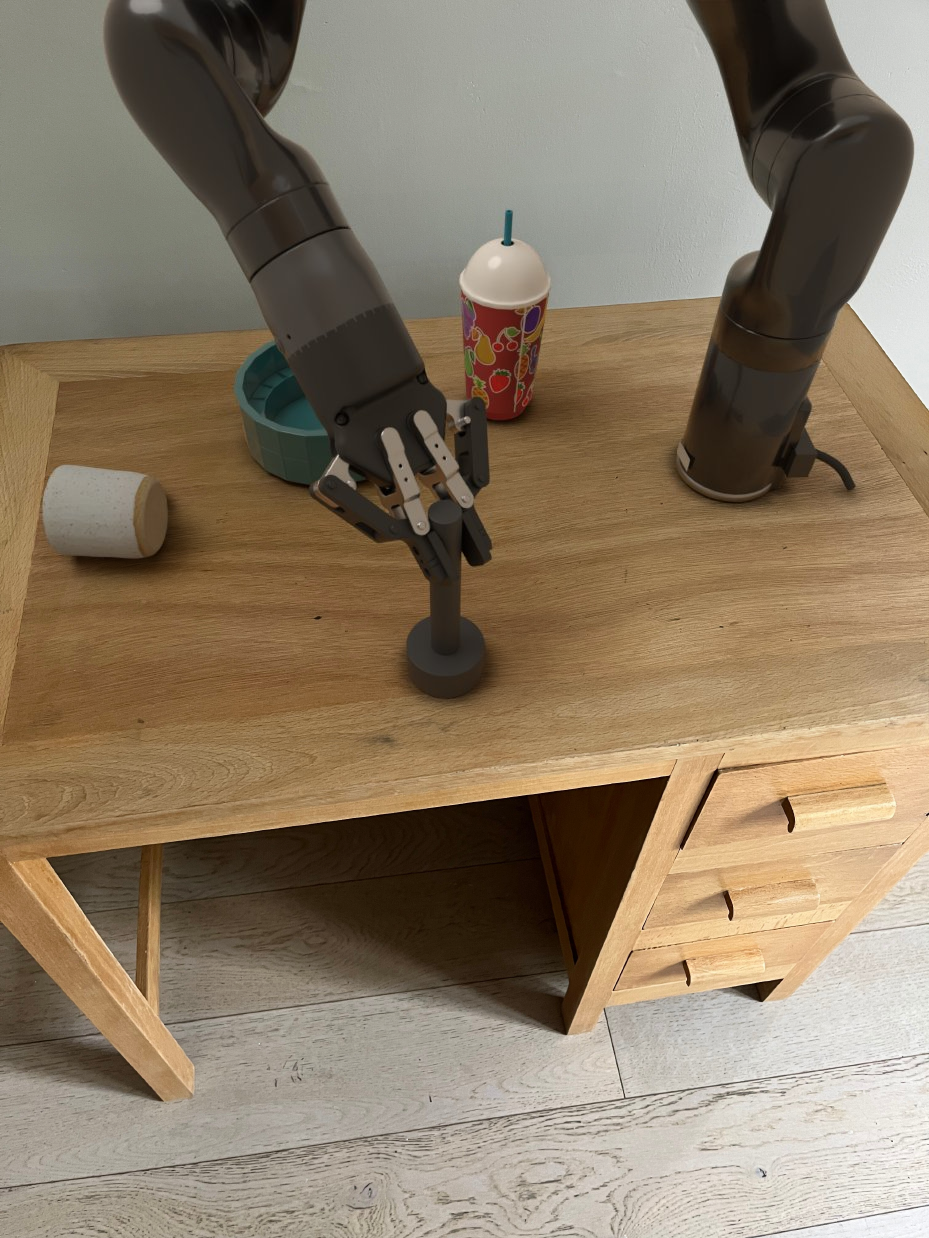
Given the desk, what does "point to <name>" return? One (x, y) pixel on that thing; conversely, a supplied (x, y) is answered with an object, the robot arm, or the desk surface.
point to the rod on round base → (446, 624)
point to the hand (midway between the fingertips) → (465, 572)
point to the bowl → (280, 419)
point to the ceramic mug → (104, 512)
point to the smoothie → (503, 322)
